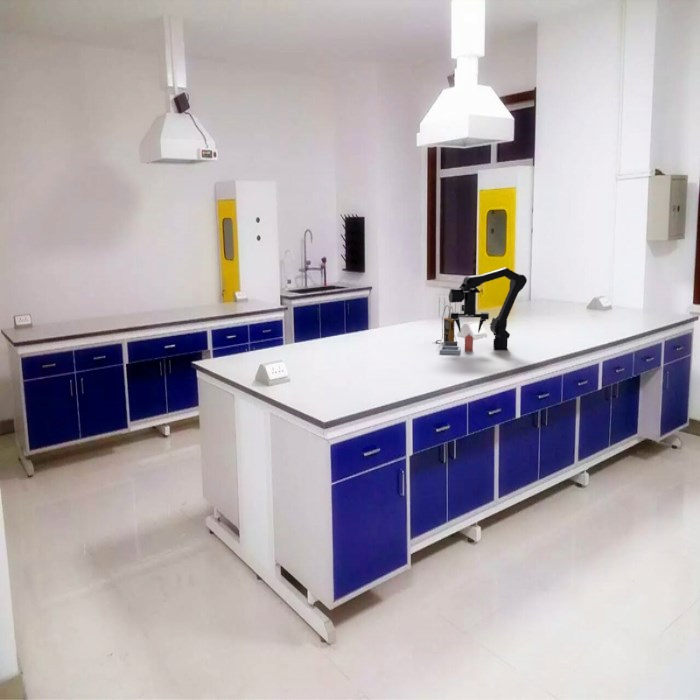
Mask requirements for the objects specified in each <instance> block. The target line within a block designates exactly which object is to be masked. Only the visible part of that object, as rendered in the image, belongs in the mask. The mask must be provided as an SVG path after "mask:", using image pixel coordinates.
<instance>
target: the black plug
mask: <svg viewBox="0 0 700 700" xmlns="http://www.w3.org/2000/svg"><path fill="white" fill-rule="evenodd" d="M442 343H443V344H442V346H458V341H454V342H452V341H445V342H442ZM444 343H445V344H444Z"/></svg>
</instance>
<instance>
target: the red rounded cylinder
mask: <svg viewBox="0 0 700 700" xmlns="http://www.w3.org/2000/svg"><path fill="white" fill-rule="evenodd" d="M473 349H474V338H473V336H472V335H471V332H467V335H466V336H465V337H464V351H465V352H472V351H473Z"/></svg>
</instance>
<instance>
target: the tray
mask: <svg viewBox="0 0 700 700" xmlns="http://www.w3.org/2000/svg"><path fill="white" fill-rule="evenodd" d="M461 348H462V346H461V345H459V346H458V345H457V346H443V345H440V349H439V355H457V356H459V355H461V351H462V349H461Z"/></svg>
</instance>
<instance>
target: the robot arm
mask: <svg viewBox="0 0 700 700" xmlns="http://www.w3.org/2000/svg"><path fill="white" fill-rule="evenodd" d="M503 277H505V278H506V279H508V280H509V287H508V288H509V290H508V292H507V295H506V297H505V300H504V302H503V304H502V306H501V308H500V311H499V313H498V315H497V316H496V317H492V319H491V322H490V324H489V329H490V331H491V333H492V334H493V337H494V338H493V349H494V351H495V350H496V351H497V350H498V351H499V350H500V351H504V350H505V351H507V350H509V349H508V339H509V338H510V336H511V334H510V333H509V332H508V331H507V324H508V317H509V316H510V313H511V311H512V308H513V306H514V304H515V301H516V299H517V296H518V295H519V293H520V292H521V291H522V290H523V288H524V287H525V286H526V284H527V282H528V278H527V277H526V275H524V274H521V273H517V272H515V271H513V270H511V269H510V268H508V267H502V268H499V269H496V270H493V271H489V272H485V273H483V274H474V275H473V274H472V275H467V276H465V277H464V278H463V280H462V283H461V284H460V286H459V287H458V288H450V289H449V293H448V301H449V303H462V302H463V304H461V312H463V313H460V311H452V312H450V318H451V319H453V321H455V324H456V326H457V328H458V331H459V333H461V331H462V330H461V329H462V328H461V319H460V318H479V322H478V328H477V329H478V331H477V332H478V334H479V333H480V331H481V328H482V325H484V324H483V323H484V322H486V321H487V320H489V319H490V317H489V316H490V313H489V312H487V311H480V313H476V312H477V310H476V309H477V308H476V305H477V294H479V293H481V291H480V290H479V289H478V287H479V286H481V285H482V284H485V283H487V282H491V281H494V280H497V279H500V278H503Z"/></svg>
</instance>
